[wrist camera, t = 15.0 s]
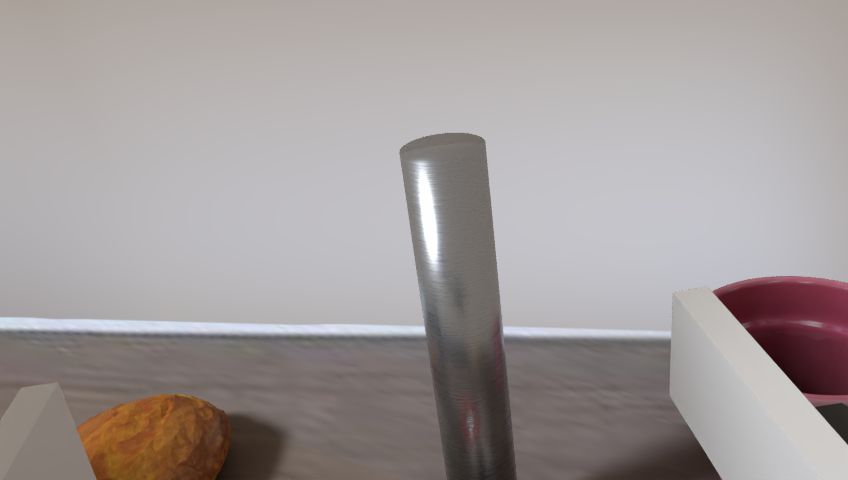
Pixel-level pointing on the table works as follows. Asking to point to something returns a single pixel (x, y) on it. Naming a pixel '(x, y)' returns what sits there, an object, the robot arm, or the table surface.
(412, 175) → the paper towel holder
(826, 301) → the plant pot
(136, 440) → the croissant
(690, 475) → the table surface
